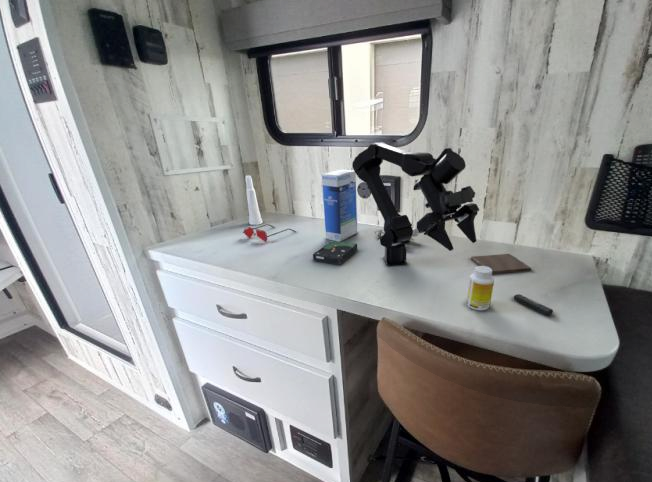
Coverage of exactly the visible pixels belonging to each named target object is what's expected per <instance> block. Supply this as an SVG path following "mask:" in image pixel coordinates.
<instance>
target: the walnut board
mask: <svg viewBox="0 0 652 482" xmlns="http://www.w3.org/2000/svg"><path fill="white" fill-rule="evenodd" d="M470 260H471V262H473V263H475V264H476V265H477V266H487V267H489V268H491V269H492V275H498V274H499V275H501V274H509V273H511V274H512V273H522V272H530V271H532V267H531V266H529V265H528V264H526V263H524V262H523V261H521V260H520V259H518V258H517V257H515V256H514V255H512V254H510V253H501V254H500V253H499V254H488V255H475V256H470Z"/></svg>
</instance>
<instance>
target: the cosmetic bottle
mask: <svg viewBox="0 0 652 482" xmlns="http://www.w3.org/2000/svg"><path fill="white" fill-rule="evenodd" d="M244 181H245V185H246V190H245V191H246V199H247V208H248V220H249V221H248V222H249V223H248V224H249V225H251V226H256V225H261V224H263V223H264V222H263V219H262V216H261V212H260V208H259V203H258V199H257V194H256V189H255V188H254V184H253V178H252V176H251V175H249V174H248V175H245V180H244Z"/></svg>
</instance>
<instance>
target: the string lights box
mask: <svg viewBox="0 0 652 482" xmlns="http://www.w3.org/2000/svg"><path fill="white" fill-rule="evenodd" d="M321 184H322V199H323V212H324V214H323V215H324V228H325V239H326V240H329V241H337V242H344V240H346V239H349V238H350V237H352V236H354V235H356V234H357V233H358V211H357V175H356V173H355V171H354V169H353V170H352V169H351V170H350V169H338V170H334V171H329V172H323V173H321Z"/></svg>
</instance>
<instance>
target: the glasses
mask: <svg viewBox="0 0 652 482" xmlns="http://www.w3.org/2000/svg"><path fill="white" fill-rule="evenodd" d="M266 226H269V227H271V228H273V229H274V228H275V226H273V225H271V224H268V223H267V224H266V223H265V224H264V225H260V226H257V227H249V226H246V227H244V229H243V231H242V234H244V235H245V236H246V237H247V238H248V239H251V238H252V237H254V236H256V237H257V238H259V239H261V240H262V241H263V242H265V243H267V241H268V238H270V237H272V236H275V235H277V234H280V233H283V232H285V231H291V232H294V233H297V231H296V230H295V229H291V228H287V229H283V230H281V231H278V232H275V233H272V234H268V235H267V232H266V231H264V230H263V229H259V228H262V227H266ZM254 230H255V231H254Z"/></svg>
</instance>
